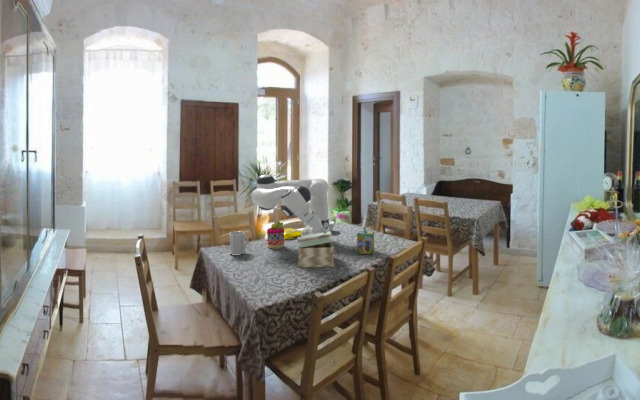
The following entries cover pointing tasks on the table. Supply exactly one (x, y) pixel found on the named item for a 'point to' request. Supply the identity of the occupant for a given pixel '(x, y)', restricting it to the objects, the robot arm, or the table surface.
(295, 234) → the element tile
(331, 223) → the serving bowl
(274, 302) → the table surface
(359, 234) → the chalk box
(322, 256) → the birch box
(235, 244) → the cup
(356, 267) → the table surface
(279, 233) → the cake
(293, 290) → the table surface
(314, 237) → the lid
